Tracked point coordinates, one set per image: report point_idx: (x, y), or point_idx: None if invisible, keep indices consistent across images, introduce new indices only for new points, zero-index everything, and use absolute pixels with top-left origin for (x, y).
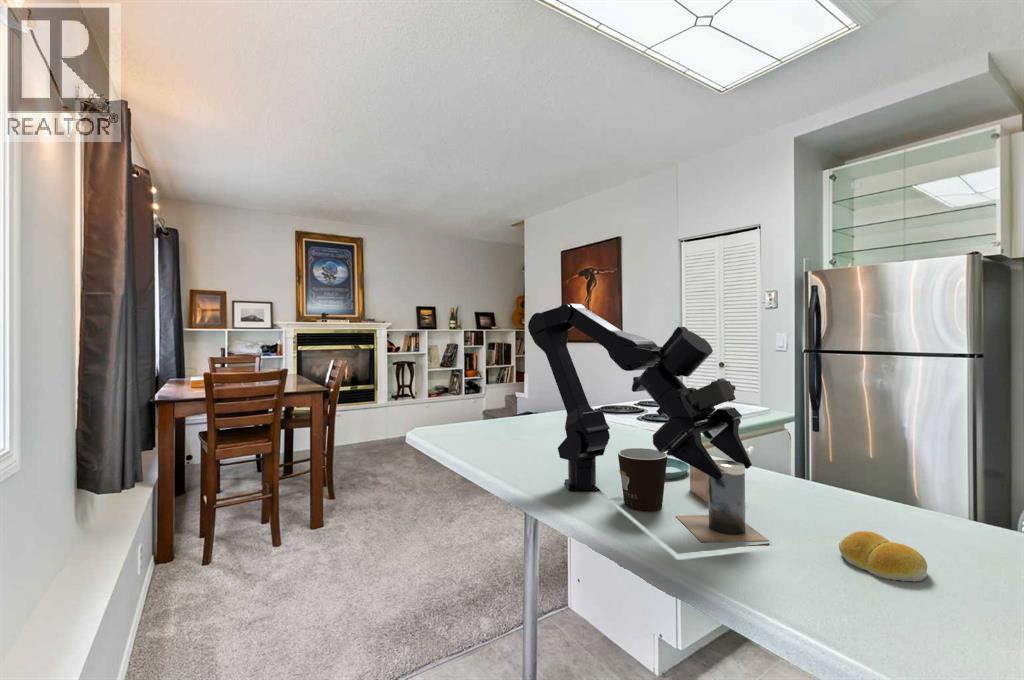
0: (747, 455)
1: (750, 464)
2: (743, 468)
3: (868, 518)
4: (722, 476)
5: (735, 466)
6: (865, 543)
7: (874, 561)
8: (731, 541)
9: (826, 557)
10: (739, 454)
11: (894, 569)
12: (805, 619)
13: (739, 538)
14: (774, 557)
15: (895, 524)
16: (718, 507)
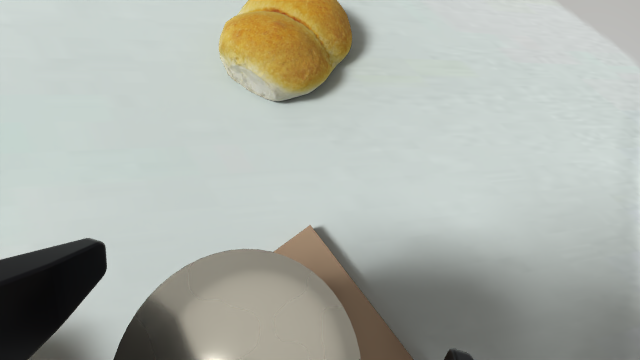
0: (18, 257)
1: (101, 242)
2: (270, 252)
3: (19, 62)
4: (454, 349)
5: (269, 300)
6: (307, 37)
7: (341, 43)
8: (376, 312)
9: (305, 124)
10: (12, 313)
11: (349, 24)
12: (594, 142)
13: (344, 295)
14: (373, 210)
15: (44, 26)
16: None
